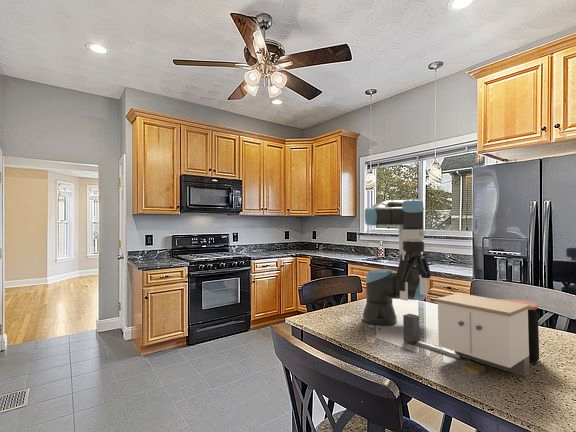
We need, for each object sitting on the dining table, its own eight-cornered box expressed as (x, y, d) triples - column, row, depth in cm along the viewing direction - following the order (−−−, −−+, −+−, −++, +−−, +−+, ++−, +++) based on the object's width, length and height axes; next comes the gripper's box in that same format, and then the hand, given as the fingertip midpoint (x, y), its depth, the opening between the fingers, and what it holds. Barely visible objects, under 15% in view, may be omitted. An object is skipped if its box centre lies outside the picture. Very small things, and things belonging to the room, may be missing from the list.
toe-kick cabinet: (435, 361, 102) (434, 299, 103) (459, 350, 111) (458, 293, 112) (511, 388, 85) (509, 313, 86) (532, 372, 94) (530, 304, 95)
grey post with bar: (403, 342, 120) (403, 315, 120) (410, 339, 122) (409, 313, 122) (457, 360, 103) (457, 329, 104) (463, 357, 106) (463, 326, 106)
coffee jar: (492, 352, 110) (490, 299, 110) (520, 350, 111) (519, 298, 111) (516, 365, 99) (515, 307, 100) (548, 364, 100) (546, 306, 101)
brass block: (460, 370, 97) (460, 365, 97) (468, 365, 100) (468, 361, 100) (477, 376, 93) (477, 370, 93) (485, 371, 96) (485, 366, 96)
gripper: (403, 242, 110) (404, 304, 109) (439, 240, 125) (440, 294, 124) (384, 241, 116) (385, 300, 115) (421, 239, 131) (422, 291, 130)
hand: (414, 297), depth 120 cm, fingers open, 13 cm apart
